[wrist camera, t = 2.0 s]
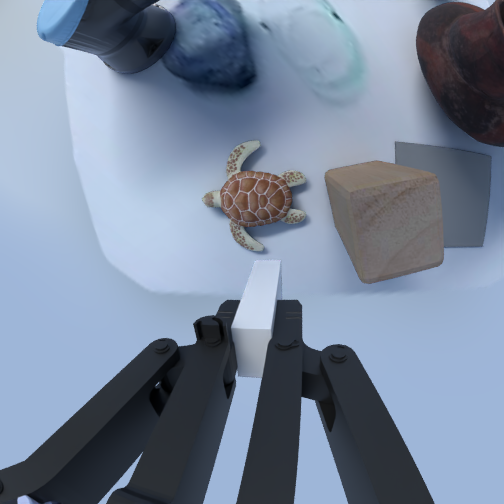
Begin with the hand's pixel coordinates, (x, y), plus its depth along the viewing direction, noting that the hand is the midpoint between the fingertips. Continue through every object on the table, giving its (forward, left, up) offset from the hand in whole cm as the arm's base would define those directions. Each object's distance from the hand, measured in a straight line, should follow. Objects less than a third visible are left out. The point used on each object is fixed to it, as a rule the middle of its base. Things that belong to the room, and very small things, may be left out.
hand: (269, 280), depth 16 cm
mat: (0, +29, -29) cm, 41 cm away
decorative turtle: (0, -5, -30) cm, 30 cm away
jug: (-23, +34, -29) cm, 50 cm away
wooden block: (0, +12, -29) cm, 32 cm away
